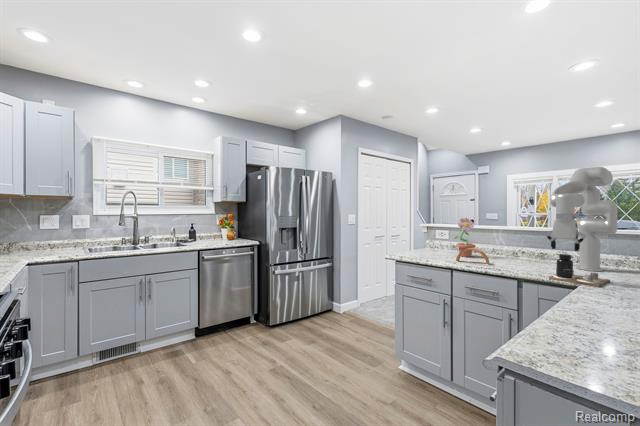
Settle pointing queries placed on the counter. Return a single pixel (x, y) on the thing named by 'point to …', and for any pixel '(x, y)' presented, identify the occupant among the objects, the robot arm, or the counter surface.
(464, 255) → the decorative flower
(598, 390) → the counter surface
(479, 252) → the arch
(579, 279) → the board
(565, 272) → the supplement bottle
